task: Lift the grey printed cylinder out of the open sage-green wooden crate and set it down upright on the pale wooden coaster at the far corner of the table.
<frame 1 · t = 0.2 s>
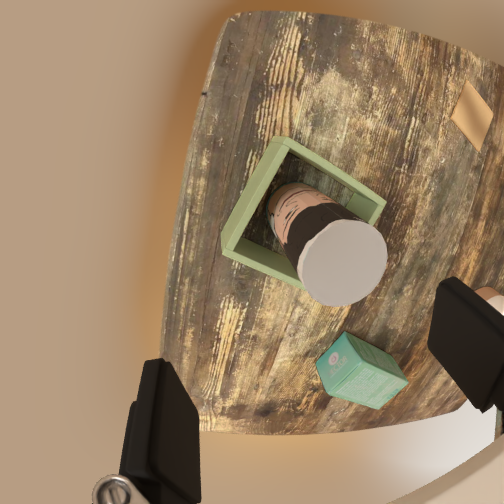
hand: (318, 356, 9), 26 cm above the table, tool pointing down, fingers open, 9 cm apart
coaster: (472, 115, 31), on the table
bowl: (469, 322, 48), on the table
grey printed cylinder: (294, 209, 34), resting in crate
crate: (294, 210, 34), on the table
box: (354, 357, 45), on the table
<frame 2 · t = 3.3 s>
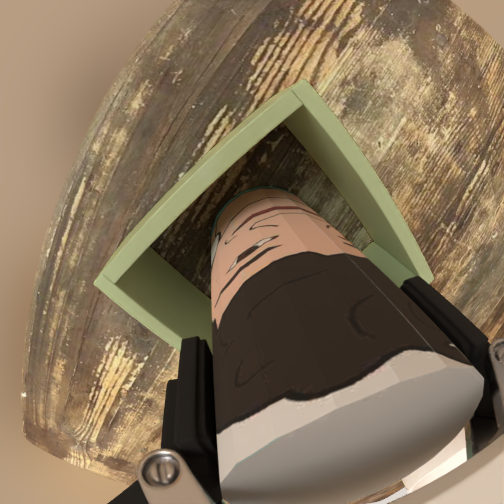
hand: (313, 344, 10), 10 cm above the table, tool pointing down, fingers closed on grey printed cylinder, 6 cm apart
bowl: (433, 429, 36), on the table
grey printed cylinder: (264, 237, 19), resting in crate, touching gripper
crate: (265, 238, 19), on the table
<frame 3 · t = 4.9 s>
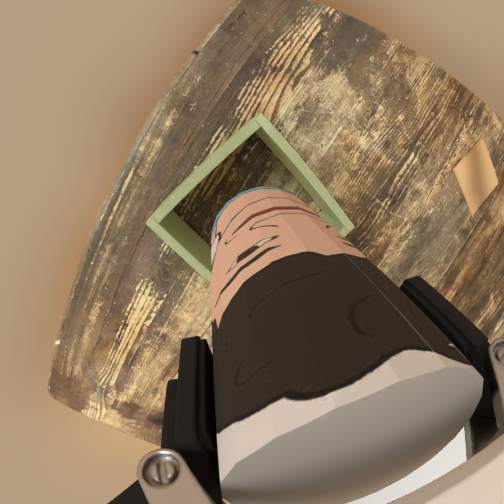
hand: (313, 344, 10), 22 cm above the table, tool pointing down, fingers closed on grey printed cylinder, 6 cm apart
coaster: (476, 176, 31), on the table
grey printed cylinder: (264, 238, 19), point 11 cm above the table, touching gripper
crate: (247, 207, 30), on the table
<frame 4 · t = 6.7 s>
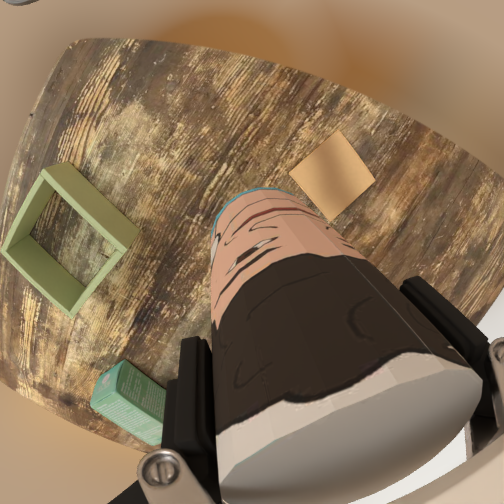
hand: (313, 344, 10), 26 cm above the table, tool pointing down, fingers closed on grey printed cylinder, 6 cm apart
coaster: (333, 176, 34), on the table
grey printed cylinder: (263, 238, 19), point 15 cm above the table, touching gripper
crate: (75, 232, 32), on the table
box: (141, 387, 43), on the table
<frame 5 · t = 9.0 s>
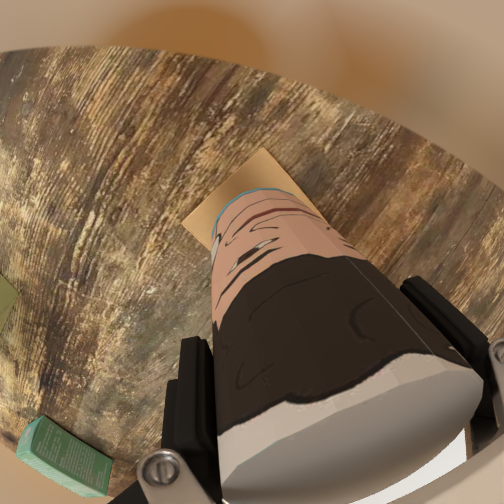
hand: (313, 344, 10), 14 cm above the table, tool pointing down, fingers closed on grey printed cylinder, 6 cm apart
coaster: (257, 222, 22), on the table
grey printed cylinder: (264, 239, 19), point 3 cm above the table, touching gripper
box: (68, 440, 32), on the table
when the fingers open (11 cm above the table, at t = 10.5 s): grey printed cylinder stays where it is, resting on coaster.
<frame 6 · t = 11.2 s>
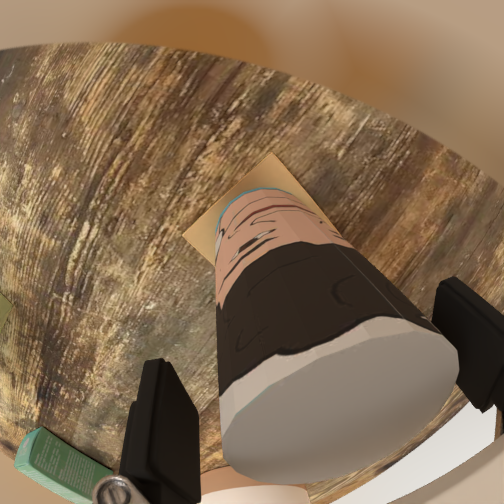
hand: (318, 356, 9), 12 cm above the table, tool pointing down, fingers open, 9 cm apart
coaster: (265, 234, 21), on the table
bowl: (248, 483, 36), on the table
grey printed cylinder: (264, 235, 20), resting on coaster
box: (67, 451, 30), on the table
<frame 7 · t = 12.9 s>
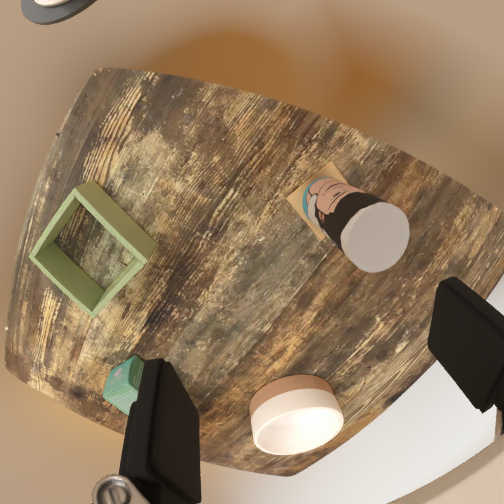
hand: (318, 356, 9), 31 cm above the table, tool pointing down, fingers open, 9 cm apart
coaster: (325, 201, 40), on the table
bowl: (290, 401, 55), on the table
grey printed cylinder: (325, 201, 39), resting on coaster
crate: (97, 242, 38), on the table
box: (148, 381, 49), on the table
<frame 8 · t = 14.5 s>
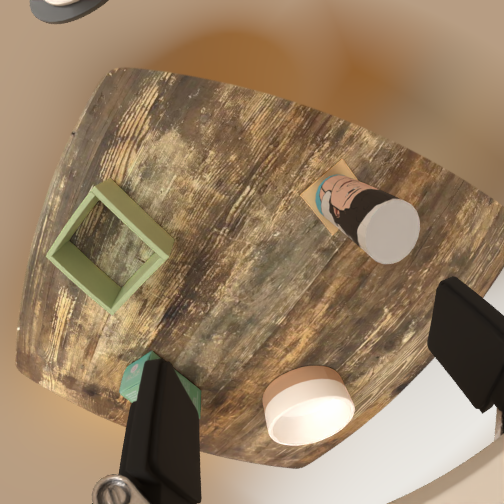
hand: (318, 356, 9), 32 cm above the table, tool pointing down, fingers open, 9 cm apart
coaster: (337, 197, 41), on the table
bowl: (302, 392, 57), on the table
grey printed cylinder: (337, 197, 41), resting on coaster
crate: (115, 239, 39), on the table
box: (163, 377, 51), on the table
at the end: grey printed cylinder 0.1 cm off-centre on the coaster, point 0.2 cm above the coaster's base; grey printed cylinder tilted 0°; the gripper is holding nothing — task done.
